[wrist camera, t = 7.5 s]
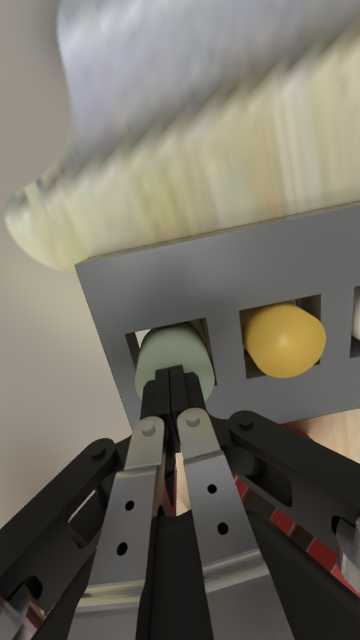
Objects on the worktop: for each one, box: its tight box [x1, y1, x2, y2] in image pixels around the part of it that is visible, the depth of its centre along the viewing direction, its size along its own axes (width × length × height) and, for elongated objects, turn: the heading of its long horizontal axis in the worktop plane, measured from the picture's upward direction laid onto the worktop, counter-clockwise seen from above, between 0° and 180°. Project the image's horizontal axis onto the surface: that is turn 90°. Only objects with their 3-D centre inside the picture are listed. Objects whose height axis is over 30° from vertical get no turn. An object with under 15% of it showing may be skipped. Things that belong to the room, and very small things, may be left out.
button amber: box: [239, 301, 326, 378], centre depth 17 cm, size 4×4×4 cm
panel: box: [74, 201, 360, 432], centre depth 17 cm, size 22×14×3 cm, turn 101°
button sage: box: [135, 323, 215, 401], centre depth 16 cm, size 4×4×4 cm
